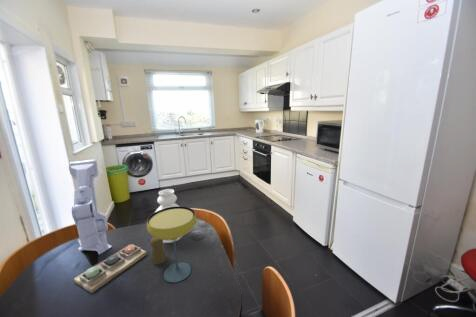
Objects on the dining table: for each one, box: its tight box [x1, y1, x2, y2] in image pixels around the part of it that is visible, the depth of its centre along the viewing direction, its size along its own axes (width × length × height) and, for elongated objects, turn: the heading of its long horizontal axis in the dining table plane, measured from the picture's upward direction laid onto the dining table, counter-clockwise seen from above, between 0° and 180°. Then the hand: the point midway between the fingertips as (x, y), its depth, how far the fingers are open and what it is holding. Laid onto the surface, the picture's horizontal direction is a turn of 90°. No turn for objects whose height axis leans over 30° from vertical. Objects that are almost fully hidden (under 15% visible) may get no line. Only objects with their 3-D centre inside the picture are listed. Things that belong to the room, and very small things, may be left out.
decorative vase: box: [154, 188, 183, 244], centre depth 109 cm, size 18×18×25 cm
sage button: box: [84, 265, 100, 279], centre depth 82 cm, size 4×4×2 cm
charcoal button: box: [105, 253, 119, 266], centre depth 89 cm, size 4×4×2 cm
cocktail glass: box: [146, 205, 197, 284], centre depth 83 cm, size 18×18×25 cm
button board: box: [73, 243, 148, 294], centre depth 90 cm, size 12×24×3 cm, turn 152°
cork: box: [150, 236, 167, 265], centre depth 92 cm, size 6×6×11 cm
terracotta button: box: [124, 245, 136, 255], centre depth 96 cm, size 4×4×2 cm
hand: (94, 263), depth 83 cm, fingers closed
